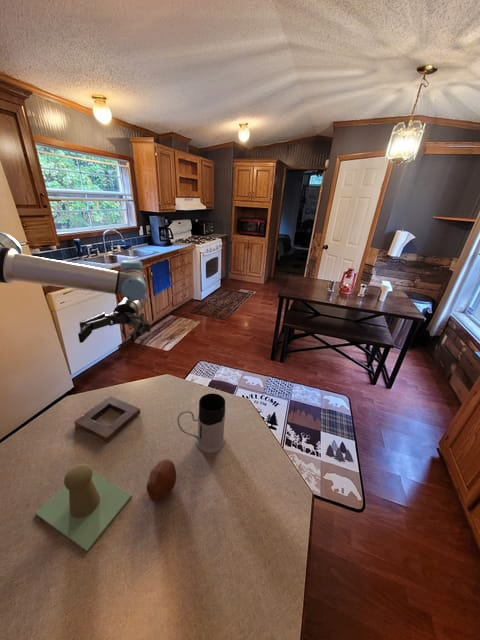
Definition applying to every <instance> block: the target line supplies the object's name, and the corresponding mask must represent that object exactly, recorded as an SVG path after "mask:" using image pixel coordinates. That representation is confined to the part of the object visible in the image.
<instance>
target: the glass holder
mask: <svg viewBox="0 0 480 640" xmlns="http://www.w3.org/2000/svg"><path fill="white" fill-rule="evenodd" d="M186 413H189V414H191V419H192V422H197V434H196V433H195V434H194V433H193V432H189V431H187V430H185V429H184V428H183V427H182V426H181V424H180V417H181V416H182V415H183V414H186ZM176 419H177V420H176V421H177V425H178V427H179V429H180V431H181V432H182V433H184V434H186V435H188V436H191V437H193V438H195V443H196V446H197V448H198V449H199V450H200V451H201V452H204V453H210V454H211V453H217V452H219V451H220V450H221V449H222V448H223V447H224V445H225V441H226V440H225V436H224V434H225V422H226V421H225V420H226V399H225V398H224V397H223V396H222V395H220V394H218V393H212V392H211V393H206V394H204V395H202V396H201V397H200V398H199V401H198V415H197V418H195V416H194V412H192V411H191V410H189V409H186V410H182V411H181V412H179V414H178V415H177V418H176ZM222 446H223V447H222Z"/></svg>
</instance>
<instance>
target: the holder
mask: <svg viewBox="0 0 480 640" xmlns="http://www.w3.org/2000/svg"><path fill="white" fill-rule="evenodd" d="M109 410H112V411H114V412H117V413H119V414H120V416H119V417H117V419H115V420H114V421H113V422H112V423H111V424H109V425H108V426H106V425H104V424H101V423H99V422H98V421H97V420H98V419H99V418H100V417H101V416H103V415H105V413H107V412H108V411H109ZM140 415H141V408H140V407H137V406H135V405H133V404H130V403H128V402H126V401H123V400H121V399H118V398H116V397H114V396H111V395H109V396H108V397H106V398H105V399H104V400H102V401H101V402H99V403H98V404H97V405H95V406H94V407H92V408H91V409H90V410H88V411H86V412H85V413H84V414H82V415H81V416H80V417H79V418H77V419H76V420H74V421H73V423H74V427H75V428H76V429H79V430H81V431H82V432H85V433H87V434H89V435H90V436H92V437H94V438H96V439H98V440H99V441H102V442H103V443H104V442H105V443H106V444H109V443H110V442H111V441H112V440H113V439H115V437H116V436H117V435H119V434H120V433H121V432H122V431H123V430H124V429H125V428H126V427H127V426H128V425H130V424H131V423H132V422H133V421H134V420H135V419H136V418H137V417H138V416H140Z"/></svg>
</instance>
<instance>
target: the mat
mask: <svg viewBox="0 0 480 640" xmlns="http://www.w3.org/2000/svg"><path fill="white" fill-rule="evenodd" d="M91 479H92V481H93V483H94V485H95V487H96V489H97V491H98V493H99V495H100V502H99V504H98V506H97V508H96V509H95V510H94V511H93V512H92V513H91V514H89V515H88V516H85V517H83V518H75V517H73V516H72V515H71V513H70V503H69V490H68V489H67V488H66V487H65V485H64V486H63V487H62V488H60V489H59V491H57V492H56V493H55V494H54V495H53V496H51V498H49V499H48V500H47V501H46V502H45V503H44V504H43V505H42V506H41V507H40V508H39V509H37V510H36V512H34V514H35V516H37V517H38V518H40V520H42V521H44V522H45V523H46V524H47V525H49V526H51V527H52V528H53V529H55V530H56V531H57V532H58V533H60V534H61V535H63V536H64V537H66V538H67V539H68V540H70V541H71V542H72V543H73V544H75V545H77V546H78V547H79V548H81V549H82V550H83V551H85V552H86V553H88V552H89V551H90V550H91V548H92V547H93V546H94V544H95V543H96V542H97V541H98V539H99V538H100V537H102V535H103V534H104V532H105V531H106V529H108V527H109V526H110V524H111V523H112V522H113V521H114V520H115V518H116V517H117V516H118V515H119V513H120V512H121V510H123V508H124V507H125V506H126V505H127V503H128V502H129V501H130V500H131V499H132V497H133V495H132V494H131V493H129V492H127V491H126V490H124V489H122V488H121V487H118V486H117V485H116V484H113V483H112V482H110V481H108V480H107V479H105V478H104V477H101V476H100V475H98V474H97V473H94V472H93V471H92V478H91Z"/></svg>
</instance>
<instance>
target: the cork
mask: <svg viewBox="0 0 480 640" xmlns="http://www.w3.org/2000/svg"><path fill="white" fill-rule="evenodd" d="M92 472H93V468H92V467H91V466H90V465H89V464H88V463H78V464H76V465H74V466H72V467H71V468H69V469H68V471H66V473H65V476H64V479H63V484H64V486H65V487H66V488H67V489H68V490H69V503H70V513H71V515H72V516H73V517H75V518H83V517H85V516H88V515H89V514H91V513H92V512H93V511H94V510H95V509H96V508H97V506H98V504H99V502H100V495H99V493H98V491H97V489H96V487H95V485H94V483H93V481H92V479H91V478H92Z"/></svg>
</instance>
